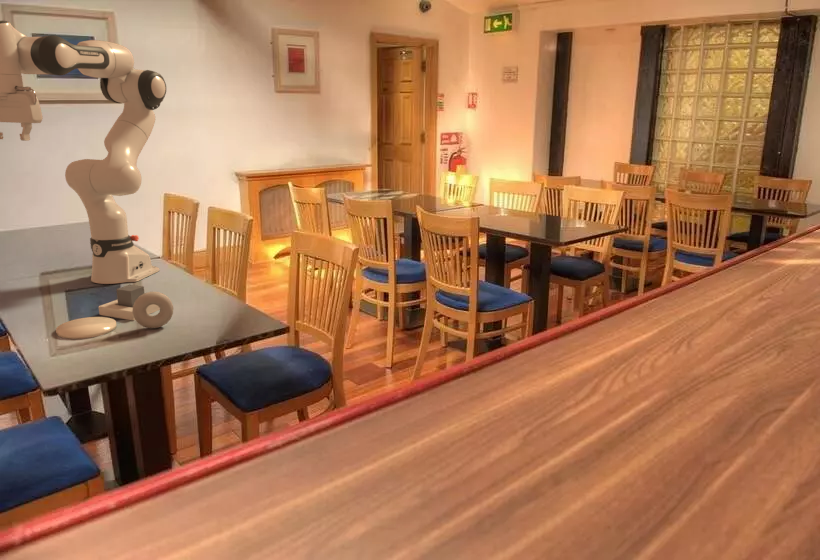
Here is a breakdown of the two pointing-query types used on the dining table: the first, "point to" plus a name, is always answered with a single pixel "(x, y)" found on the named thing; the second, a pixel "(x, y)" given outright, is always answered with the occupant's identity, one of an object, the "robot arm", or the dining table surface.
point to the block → (129, 295)
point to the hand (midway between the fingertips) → (11, 139)
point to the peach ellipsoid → (86, 327)
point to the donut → (150, 299)
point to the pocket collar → (122, 310)
